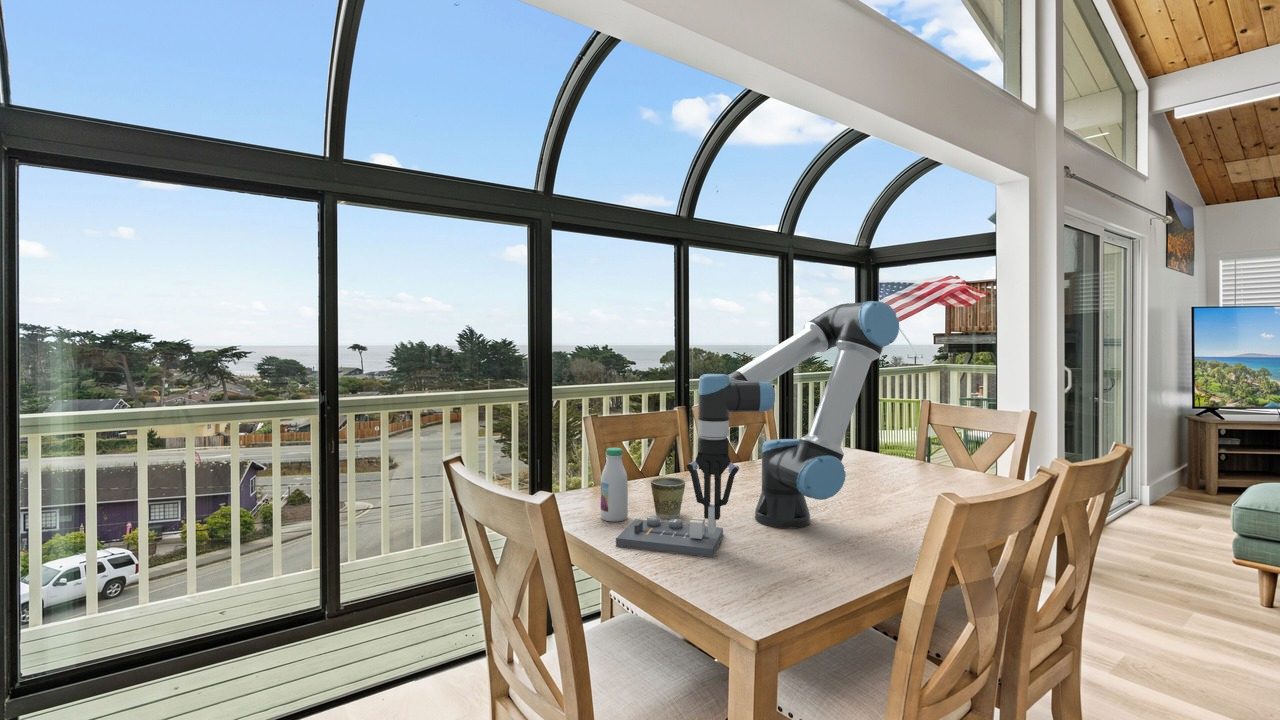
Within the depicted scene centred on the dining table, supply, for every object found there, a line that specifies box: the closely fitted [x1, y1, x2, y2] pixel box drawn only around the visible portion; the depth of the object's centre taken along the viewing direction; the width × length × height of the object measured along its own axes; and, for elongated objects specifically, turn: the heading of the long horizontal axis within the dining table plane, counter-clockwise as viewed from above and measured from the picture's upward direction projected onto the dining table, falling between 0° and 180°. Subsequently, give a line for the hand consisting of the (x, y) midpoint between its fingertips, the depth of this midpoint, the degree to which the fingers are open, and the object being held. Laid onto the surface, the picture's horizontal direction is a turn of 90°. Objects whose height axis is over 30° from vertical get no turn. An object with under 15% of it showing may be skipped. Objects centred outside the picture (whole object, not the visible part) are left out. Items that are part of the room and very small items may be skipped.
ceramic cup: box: [650, 476, 686, 520], centre depth 171 cm, size 13×10×10 cm
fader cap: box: [689, 516, 706, 539], centre depth 145 cm, size 3×4×4 cm
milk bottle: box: [600, 447, 629, 523], centre depth 166 cm, size 8×8×20 cm
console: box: [615, 516, 724, 558], centre depth 148 cm, size 24×16×4 cm, turn 73°
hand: (711, 531), depth 144 cm, fingers closed
